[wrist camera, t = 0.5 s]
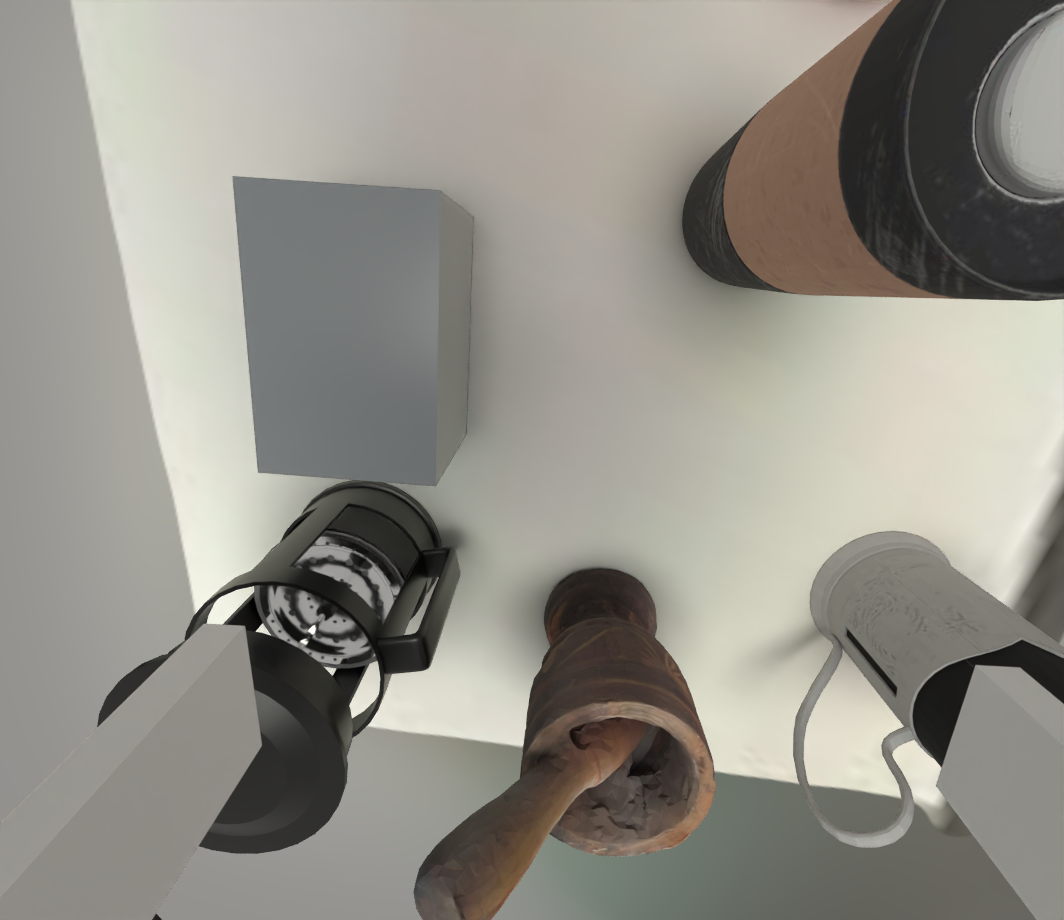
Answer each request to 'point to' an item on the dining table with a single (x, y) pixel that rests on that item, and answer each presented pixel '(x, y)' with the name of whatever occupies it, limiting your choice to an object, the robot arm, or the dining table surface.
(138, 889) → the robot arm
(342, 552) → the french press
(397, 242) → the grey rectangular block
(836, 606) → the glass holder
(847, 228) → the travel mug
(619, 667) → the mortar and pestle
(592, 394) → the dining table surface
